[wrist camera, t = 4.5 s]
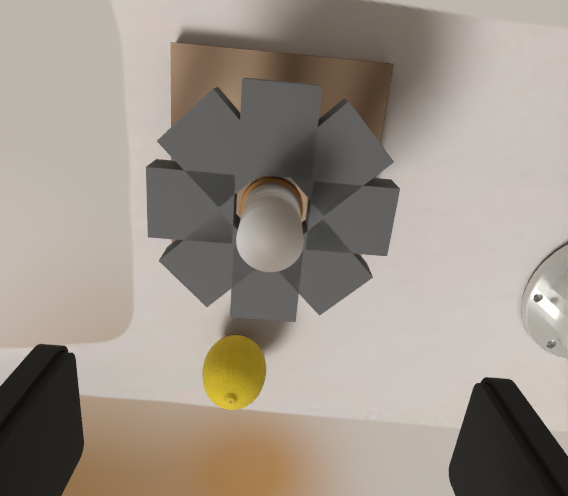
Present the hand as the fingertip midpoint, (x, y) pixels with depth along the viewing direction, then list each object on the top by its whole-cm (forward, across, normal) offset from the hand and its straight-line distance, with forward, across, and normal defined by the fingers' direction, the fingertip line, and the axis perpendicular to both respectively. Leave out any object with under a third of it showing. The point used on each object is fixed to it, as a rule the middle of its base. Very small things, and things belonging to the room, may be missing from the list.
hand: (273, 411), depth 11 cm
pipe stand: (+28, 0, 0) cm, 28 cm away
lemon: (+28, +2, +18) cm, 34 cm away
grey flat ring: (+16, 0, 0) cm, 16 cm away
